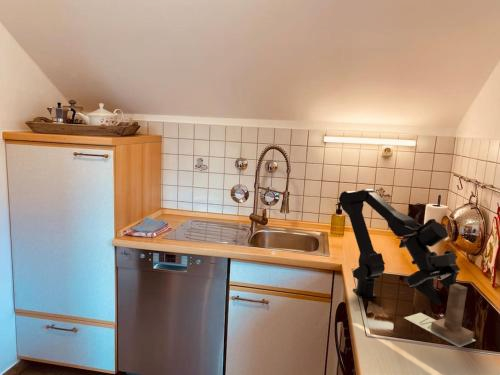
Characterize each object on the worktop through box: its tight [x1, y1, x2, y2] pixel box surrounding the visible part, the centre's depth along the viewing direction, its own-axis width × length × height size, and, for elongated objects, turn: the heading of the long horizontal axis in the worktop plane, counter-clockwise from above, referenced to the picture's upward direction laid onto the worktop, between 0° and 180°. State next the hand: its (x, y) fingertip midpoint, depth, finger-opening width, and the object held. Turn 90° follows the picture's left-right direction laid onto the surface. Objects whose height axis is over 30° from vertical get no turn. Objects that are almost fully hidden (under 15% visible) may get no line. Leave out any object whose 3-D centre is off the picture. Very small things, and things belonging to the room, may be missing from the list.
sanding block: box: [431, 283, 474, 345], centre depth 111 cm, size 9×6×15 cm, turn 31°
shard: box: [366, 300, 389, 318], centre depth 126 cm, size 11×8×2 cm
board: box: [404, 312, 477, 348], centre depth 115 cm, size 18×8×1 cm, turn 31°
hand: (449, 301), depth 112 cm, fingers open, 9 cm apart
